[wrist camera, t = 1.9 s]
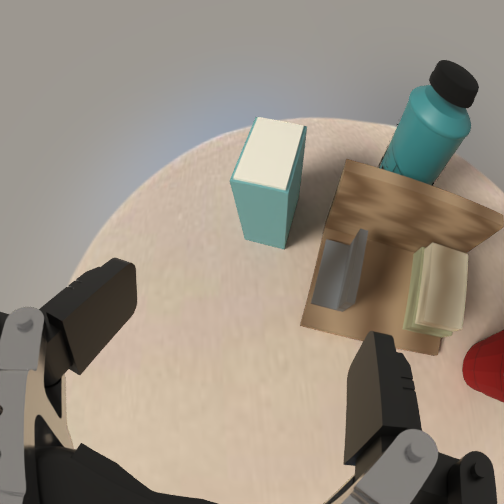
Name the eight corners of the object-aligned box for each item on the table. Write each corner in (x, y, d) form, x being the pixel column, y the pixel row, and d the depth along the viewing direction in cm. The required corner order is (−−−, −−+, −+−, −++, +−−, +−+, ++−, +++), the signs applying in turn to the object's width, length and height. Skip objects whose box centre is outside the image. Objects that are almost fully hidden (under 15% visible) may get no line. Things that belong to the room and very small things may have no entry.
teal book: (298, 195, 35) (307, 124, 23) (284, 249, 33) (288, 191, 21) (262, 187, 36) (255, 115, 24) (244, 239, 34) (229, 179, 22)
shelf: (446, 256, 31) (503, 215, 20) (433, 355, 27) (500, 349, 16) (325, 221, 33) (346, 159, 22) (300, 325, 30) (315, 308, 19)
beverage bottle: (421, 216, 33) (508, 108, 14) (375, 220, 33) (449, 95, 14) (406, 172, 35) (468, 56, 16) (361, 174, 35) (409, 42, 16)
